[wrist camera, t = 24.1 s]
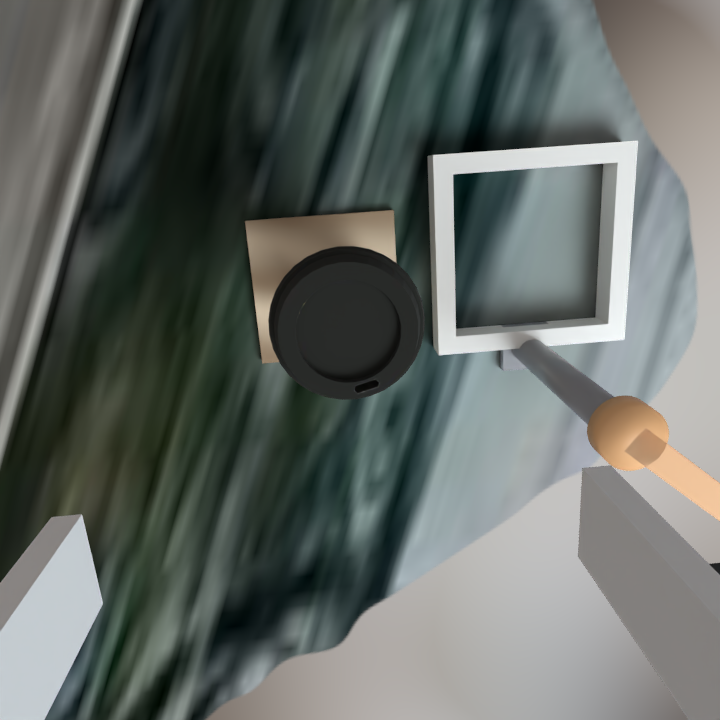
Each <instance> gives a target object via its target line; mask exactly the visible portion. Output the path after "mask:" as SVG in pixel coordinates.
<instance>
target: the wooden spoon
mask: <svg viewBox="0 0 720 720" xmlns="http://www.w3.org/2000/svg"><path fill="white" fill-rule="evenodd" d="M587 435H588V439H589V442H590V444H591V445H592V447H593V448H594V449H595V450H596V451H597V452H598V453H599V454H600V455H601V456H602V457H603V458H604V459H605V460H606V461H607V462H608V463H609V464H610V465H611V466H613V467H615V468H617V469H620V470H625V471H633V470H639V469H642V468H644V467H646V468H648V469H649V470H650V471H652V472H653V473H655V474H656V475H657V476H659V477H660V478H661V479H663V480H664V481H666V482H667V483H669V484H670V485H671V486H672V487H674V488H675V489H676V490H678V491H679V492H681V493H682V494H683V495H685V496H686V497H687V498H689V499H690V500H691V501H693V502H694V503H695V504H697V505H698V506H699V507H701V508H702V509H704V510H705V511H706V512H708V513H709V514H710V515H712V516H713V517H714V518H716V519H717V520H719V521H720V483H719V482H717V481H716V480H715V479H714V478H712V477H711V476H709V475H708V474H707V473H706V472H704V471H703V470H701V469H700V468H699V467H698V466H696V465H695V464H694V463H692V462H691V461H690V460H688V459H687V458H686V457H684V456H683V455H682V454H680V453H679V452H678V451H676V450H675V449H674V448H672V447H671V446H670V445H668V444H667V442H668V437H669V429H668V425H667V423H666V421H665V419H664V418H663V416H662V415H661V414H660V413H658V412H657V411H655V410H654V409H653V408H651V407H650V406H648V405H647V404H646V403H644V402H643V401H641V400H640V399H638V398H636V397H632V396H618V397H614V398H611V399H609V400H607V401H605V402H604V403H602V404H601V405H600V406H599V407H598V408H597V409H596V410H595V411H594V412H593V414H592V416H591V418H590V420H589V423H588V427H587Z"/></svg>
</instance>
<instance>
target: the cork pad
mask: <svg viewBox="0 0 720 720" xmlns="http://www.w3.org/2000/svg"><path fill="white" fill-rule="evenodd" d="M245 225H246V233H247V242H248V250H249V258H250V266H251V274H252V283H253V291H254V299H255V307H256V315H257V324H258V332H259V340H260V348H261V356H262V363H273V362H279V360H278V358H277V356H276V354H275V352H274V350H273V347H272V343H271V339H270V336H269V323H268V318H269V311H270V305H271V302H272V299H273V296H274V293H275V291H276V289H277V287H278V286H279V284H280V282H281V281H282V279H283V277H284V276H285V275H286V274H287V273H288V272H289V271H290V270H291V269H292V268H293V267H294V266H295V265H296V264H297V263H299V262H300V261H302V260H303V259H304V258H306V257H307V256H309V255H312V254H314V253H316V252H318V251H320V250H324V249H328V248H332V247H337V246H356V247H362V248H367V249H371V250H373V251H376V252H378V253H381V254H383V255H385V256H387V257H388V258H390V259H391V260H393V261H394V262H396V248H395V228H394V210H384V211H371V212H357V213H344V214H330V215H316V216H303V217H289V218H275V219H262V220H248V221H245Z"/></svg>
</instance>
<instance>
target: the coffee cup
mask: <svg viewBox="0 0 720 720" xmlns="http://www.w3.org/2000/svg"><path fill="white" fill-rule="evenodd" d="M268 323H269V336H270V339H271V343H272V347H273V350H274V352H275V354H276V356H277V358H278V360H279V362H280V364H281V365H282V367H283V368H284V369H285V370H286V372H287V373H288V374H289V376H291V377H292V378H293V379H294V380H295V381H296V382H297V383H299V384H300V385H301V386H303V387H305V388H306V389H308V390H310V391H312V392H313V393H316V394H319V395H322V396H325V397H328V398H335V399H342V400H343V399H359V398H363V397H368V396H371V395H374V394H376V393H378V392H381V391H383V390H385V389H386V388H388V387H389V386H391V385H392V384H394V383H395V382H397V381H398V380H399V379H400V378H401V377H402V376H403V375H404V374H405V373H406V372H407V371H408V369H409V368H410V366H411V365H412V363H413V362H414V360H415V359H416V356H417V354H418V352H419V349H420V347H421V344H422V339H423V335H424V310H423V304H422V300H421V297H420V295H419V292H418V290H417V288H416V286H415V284H414V283H413V281H412V280H411V278H410V277H409V275H408V274H407V273H406V272H405V271H404V270H403V269H402V268H401V267H400V266H399V265H398V264H397V263H396V262H394V261H393V260H391V259H390V258H388V257H387V256H385V255H383V254H381V253H378V252H376V251H373V250H371V249H367V248H362V247H356V246H337V247H332V248H328V249H324V250H320V251H318V252H316V253H314V254H312V255H309V256H307V257H306V258H304V259H303V260H302V261H300V262H299V263H297V264H296V265H295V266H294V267H293V268H292V269H291V270H290V271H289V272H288V273H287V274H286V275H285V276H284V277H283V279H282V281H281V282H280V284H279V286H278V287H277V289H276V291H275V293H274V296H273V299H272V302H271V305H270V311H269V318H268Z"/></svg>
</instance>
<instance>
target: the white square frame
mask: <svg viewBox="0 0 720 720" xmlns="http://www.w3.org/2000/svg"><path fill="white" fill-rule="evenodd" d="M637 148H638V141H627V142H612V143H598V144H584V145H569V146H555V147H541V148H526V149H512V150H498V151H483V152H469V153H455V154H440V155H430V156H427V159H428V190H429V222H430V254H431V285H432V317H433V347H434V349H435V350H436V352H437V353H438V355H448V354H460V353H472V352H484V351H496V350H501V353H500V368H501V369H502V370H503V371H510V370H521V369H529V370H530V371H531V372H532V373H533V374H534V375H535V376H536V377H537V378H538V379H539V380H541V381H542V382H543V383H544V384H545V385H546V386H547V387H548V388H549V389H550V390H551V391H552V392H553V393H554V394H556V395H557V396H558V397H559V398H560V399H561V400H562V401H563V402H564V403H565V404H566V405H567V406H568V407H569V408H571V409H572V410H573V411H574V412H575V413H576V414H577V415H578V416H579V417H580V418H581V419H582V420H583V421H584V422H586V423H587V424H588V423H589V420H590V418H591V416H592V414H593V412H594V411H595V410H596V409H597V408H598V407H599V406H600V405H601V404H602V403H604V402H605V401H607V400H609V399H611V398H614V397H613V396H612V395H611V394H609V393H608V392H607V391H605V390H604V389H603V388H602V387H600V386H599V385H598V384H596V383H595V382H594V381H592V380H591V379H590V378H588V377H587V376H586V375H584V374H583V373H582V372H580V371H579V370H578V369H576V368H575V367H574V366H572V365H571V364H570V363H568V362H567V361H566V360H565V359H563V358H562V357H561V356H559V355H558V354H557V353H555V352H554V351H553V350H551V349H550V348H549V347H548V346H556V345H567V344H579V343H591V342H603V341H615V340H625V325H626V310H627V296H628V281H629V266H630V251H631V237H632V222H633V207H634V192H635V178H636V163H637ZM589 164H603V180H602V199H601V218H600V237H599V257H598V276H597V295H596V314H595V317H594V318H581V319H569V320H557V321H545V322H533V323H520V324H508V325H496V326H484V327H472V328H459V329H456V305H455V255H454V204H453V174H462V173H477V172H491V171H505V170H519V169H533V168H547V167H561V166H575V165H589Z"/></svg>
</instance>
